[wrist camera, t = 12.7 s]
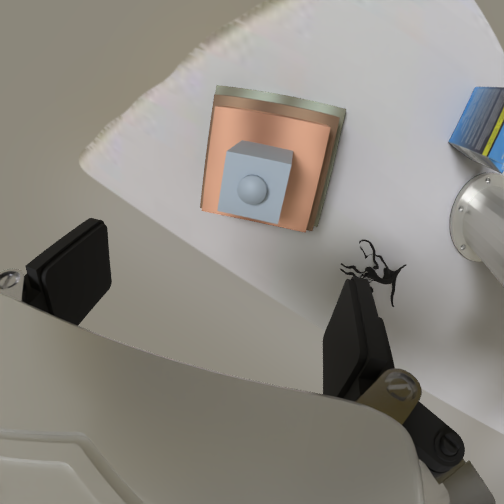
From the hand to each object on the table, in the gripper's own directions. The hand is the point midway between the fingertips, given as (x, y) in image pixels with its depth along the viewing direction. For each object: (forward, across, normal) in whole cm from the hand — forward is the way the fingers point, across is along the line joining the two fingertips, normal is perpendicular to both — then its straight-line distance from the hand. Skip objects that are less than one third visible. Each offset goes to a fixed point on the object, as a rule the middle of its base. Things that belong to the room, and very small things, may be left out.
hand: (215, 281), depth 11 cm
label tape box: (+26, -22, -11) cm, 36 cm away
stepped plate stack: (+26, +1, 0) cm, 26 cm away
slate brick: (+18, 0, 0) cm, 18 cm away
